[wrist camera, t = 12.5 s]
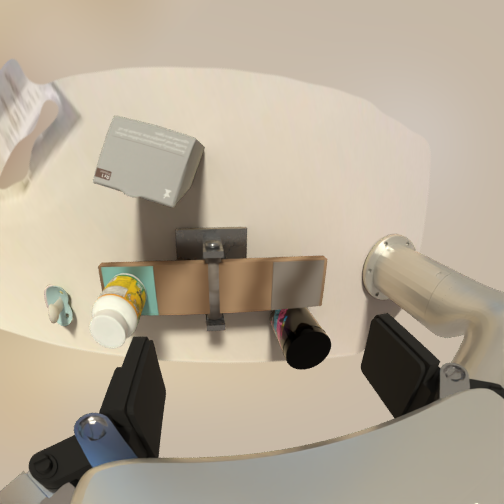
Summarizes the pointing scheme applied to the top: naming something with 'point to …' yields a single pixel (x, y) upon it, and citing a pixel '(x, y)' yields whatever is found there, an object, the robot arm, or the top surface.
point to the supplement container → (300, 337)
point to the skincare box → (148, 161)
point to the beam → (225, 284)
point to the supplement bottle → (117, 310)
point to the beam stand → (211, 250)
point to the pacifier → (58, 305)
